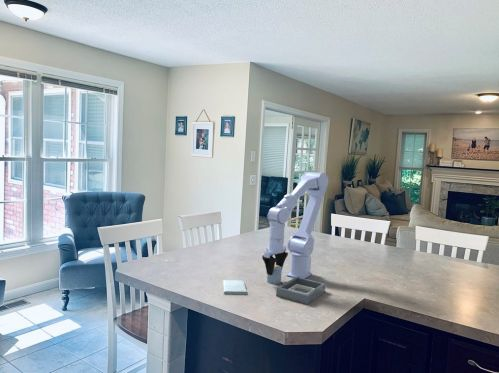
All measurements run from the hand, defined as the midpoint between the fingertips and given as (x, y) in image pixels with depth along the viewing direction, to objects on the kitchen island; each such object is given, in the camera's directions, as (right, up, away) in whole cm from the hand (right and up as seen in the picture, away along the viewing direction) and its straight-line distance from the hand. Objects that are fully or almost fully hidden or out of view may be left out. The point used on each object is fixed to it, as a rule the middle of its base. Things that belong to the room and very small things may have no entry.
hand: (274, 272), depth 151 cm
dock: (+9, -5, -11) cm, 15 cm away
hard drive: (-16, -5, -9) cm, 18 cm away
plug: (0, -4, 0) cm, 4 cm away
